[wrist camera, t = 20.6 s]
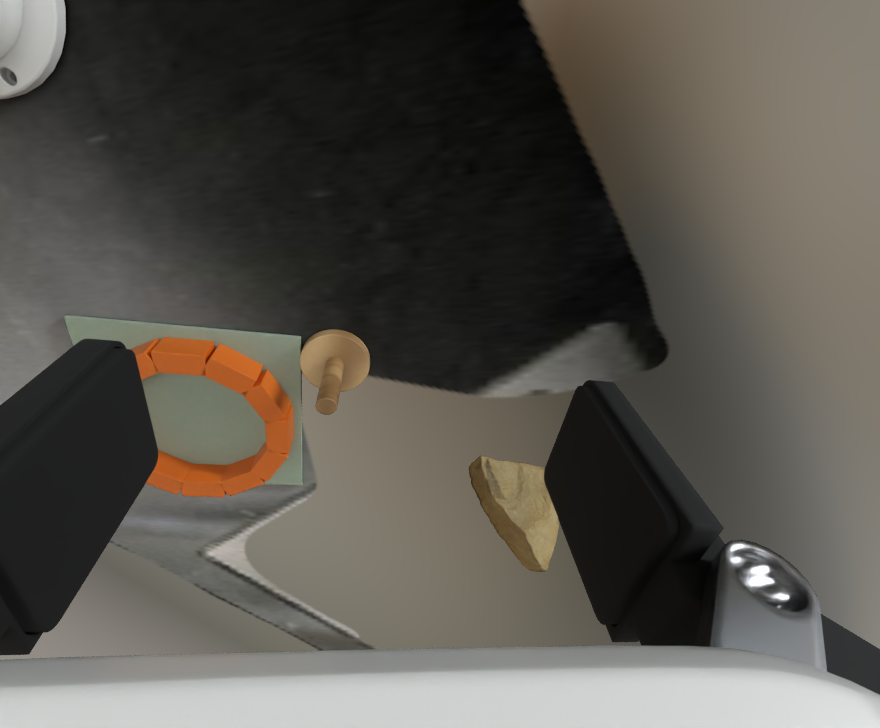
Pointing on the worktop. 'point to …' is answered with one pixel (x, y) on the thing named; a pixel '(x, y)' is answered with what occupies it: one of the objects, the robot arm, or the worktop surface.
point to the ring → (235, 376)
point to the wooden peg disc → (334, 365)
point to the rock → (518, 508)
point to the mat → (210, 394)
